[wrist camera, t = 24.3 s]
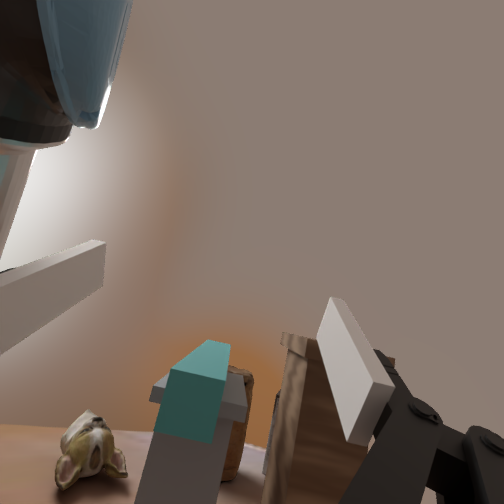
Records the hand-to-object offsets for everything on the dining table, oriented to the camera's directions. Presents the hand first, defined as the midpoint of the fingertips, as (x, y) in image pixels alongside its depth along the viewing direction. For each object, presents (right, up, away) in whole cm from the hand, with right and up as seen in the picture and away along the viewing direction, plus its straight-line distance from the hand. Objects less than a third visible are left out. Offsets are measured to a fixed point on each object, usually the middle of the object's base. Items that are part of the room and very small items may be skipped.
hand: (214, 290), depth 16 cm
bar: (-3, -14, +16) cm, 21 cm away
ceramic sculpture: (-27, -36, +31) cm, 55 cm away
